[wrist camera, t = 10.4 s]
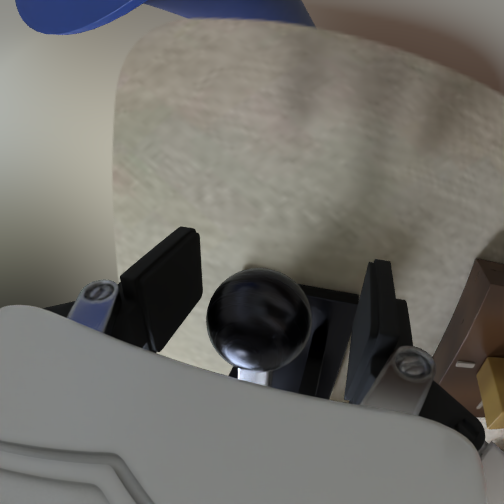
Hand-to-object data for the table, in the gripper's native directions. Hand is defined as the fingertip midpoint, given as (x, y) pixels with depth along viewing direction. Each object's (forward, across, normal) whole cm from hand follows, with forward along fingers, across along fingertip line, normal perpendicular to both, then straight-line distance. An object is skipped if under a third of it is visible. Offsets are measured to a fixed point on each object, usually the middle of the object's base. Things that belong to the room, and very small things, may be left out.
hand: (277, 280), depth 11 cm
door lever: (-1, 0, +5) cm, 5 cm away
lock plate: (+8, -16, +7) cm, 19 cm away
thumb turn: (+5, -16, +7) cm, 18 cm away
